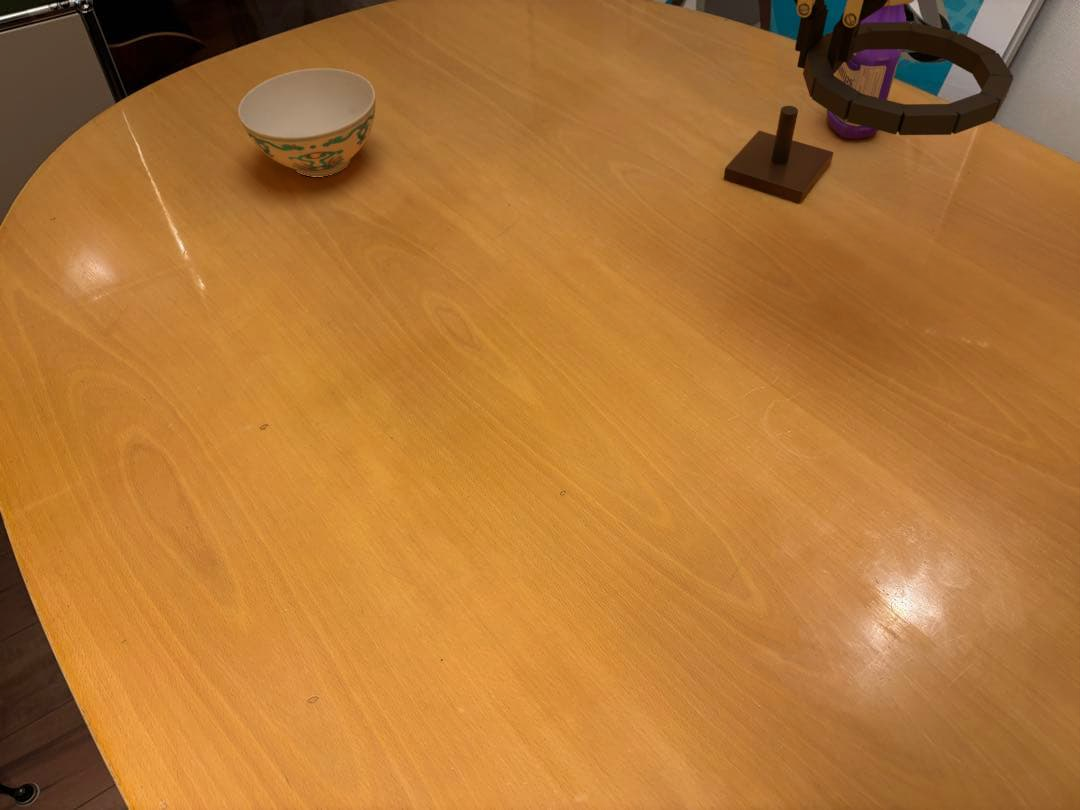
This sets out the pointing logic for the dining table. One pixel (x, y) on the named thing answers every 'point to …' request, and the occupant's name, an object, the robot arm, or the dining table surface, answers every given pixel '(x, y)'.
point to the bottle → (869, 73)
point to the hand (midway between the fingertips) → (821, 63)
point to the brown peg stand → (779, 161)
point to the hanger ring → (911, 116)
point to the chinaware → (310, 118)
